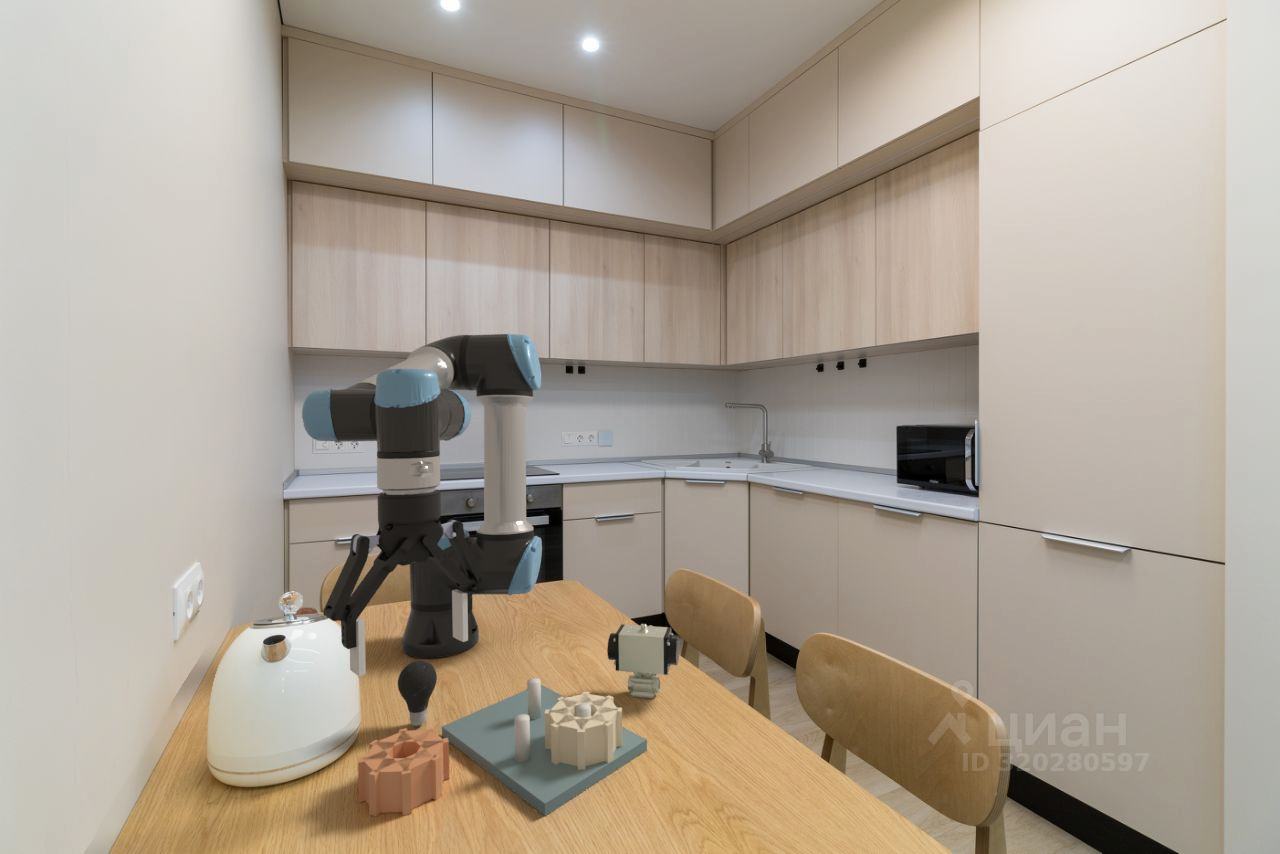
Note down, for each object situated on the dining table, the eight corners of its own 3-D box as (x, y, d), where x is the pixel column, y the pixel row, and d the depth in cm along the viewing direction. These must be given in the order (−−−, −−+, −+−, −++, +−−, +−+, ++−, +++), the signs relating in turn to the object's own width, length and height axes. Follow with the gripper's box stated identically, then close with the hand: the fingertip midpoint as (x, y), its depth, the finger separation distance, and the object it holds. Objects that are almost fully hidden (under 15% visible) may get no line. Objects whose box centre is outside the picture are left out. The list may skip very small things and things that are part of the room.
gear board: (442, 736, 85) (441, 690, 85) (539, 692, 98) (539, 652, 98) (545, 816, 68) (544, 758, 68) (647, 749, 81) (646, 701, 81)
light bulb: (445, 719, 90) (444, 656, 90) (420, 738, 85) (419, 672, 85) (416, 713, 92) (414, 652, 92) (390, 732, 87) (389, 667, 86)
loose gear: (348, 789, 73) (347, 751, 73) (424, 754, 81) (423, 719, 81) (381, 829, 66) (380, 786, 66) (462, 786, 74) (461, 748, 74)
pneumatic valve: (676, 704, 94) (675, 631, 94) (607, 697, 96) (606, 627, 96) (680, 688, 100) (680, 619, 99) (615, 682, 102) (614, 615, 102)
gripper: (313, 504, 62) (317, 700, 62) (508, 483, 80) (511, 633, 80) (290, 498, 67) (294, 679, 67) (479, 479, 85) (481, 621, 85)
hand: (412, 654), depth 74 cm, fingers open, 13 cm apart
